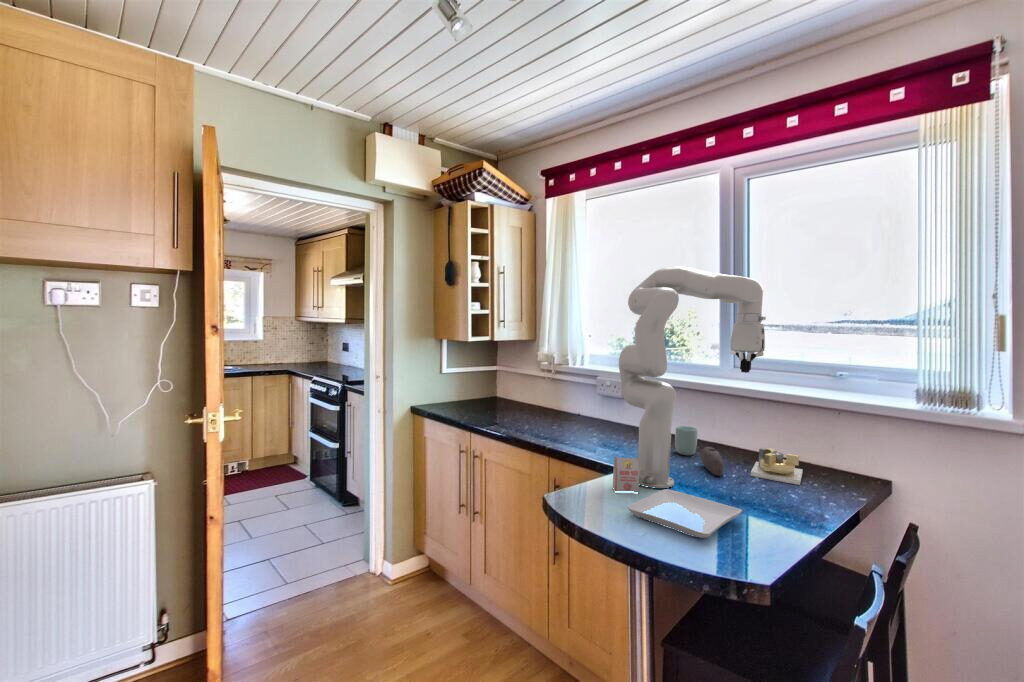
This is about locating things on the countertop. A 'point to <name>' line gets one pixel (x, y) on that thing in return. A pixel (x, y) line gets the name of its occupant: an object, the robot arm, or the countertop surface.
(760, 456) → the housing
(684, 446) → the cup
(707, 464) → the brown oval lump
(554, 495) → the countertop surface
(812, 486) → the countertop surface
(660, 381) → the robot arm
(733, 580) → the countertop surface
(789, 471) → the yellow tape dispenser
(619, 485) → the printed carton box
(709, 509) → the salad plate
